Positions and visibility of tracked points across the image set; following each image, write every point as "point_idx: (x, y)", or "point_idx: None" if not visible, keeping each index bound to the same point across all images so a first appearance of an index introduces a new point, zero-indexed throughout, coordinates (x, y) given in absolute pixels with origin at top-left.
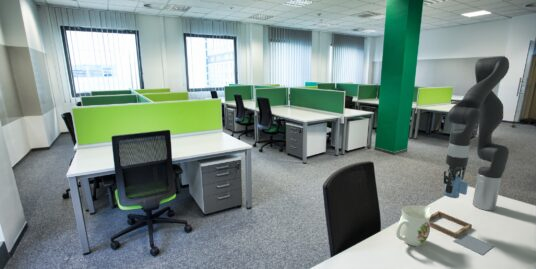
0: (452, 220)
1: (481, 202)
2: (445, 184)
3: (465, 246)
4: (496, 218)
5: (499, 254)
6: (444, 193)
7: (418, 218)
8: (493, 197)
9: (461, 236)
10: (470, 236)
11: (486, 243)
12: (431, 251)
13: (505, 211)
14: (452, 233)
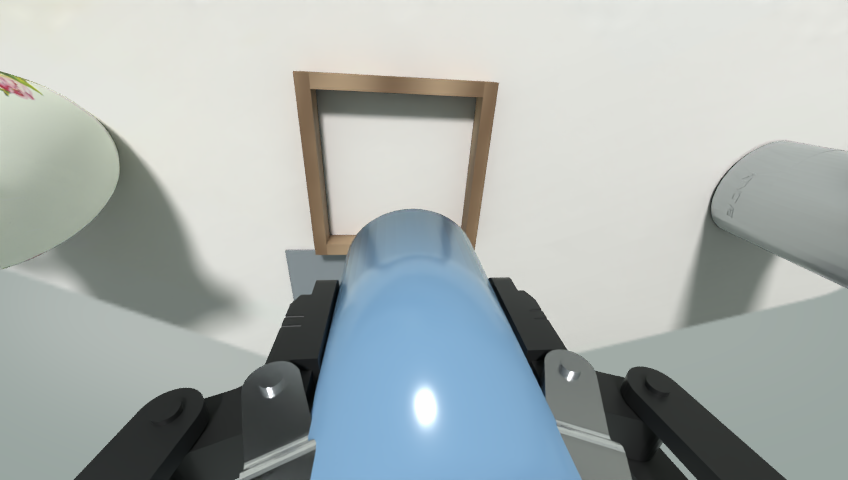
0: (469, 170)
1: (751, 205)
2: (363, 296)
3: (293, 289)
4: (644, 262)
5: None
6: (361, 234)
7: (28, 152)
8: (796, 262)
9: None
10: None
11: None
12: (109, 238)
13: (742, 257)
14: (314, 239)
